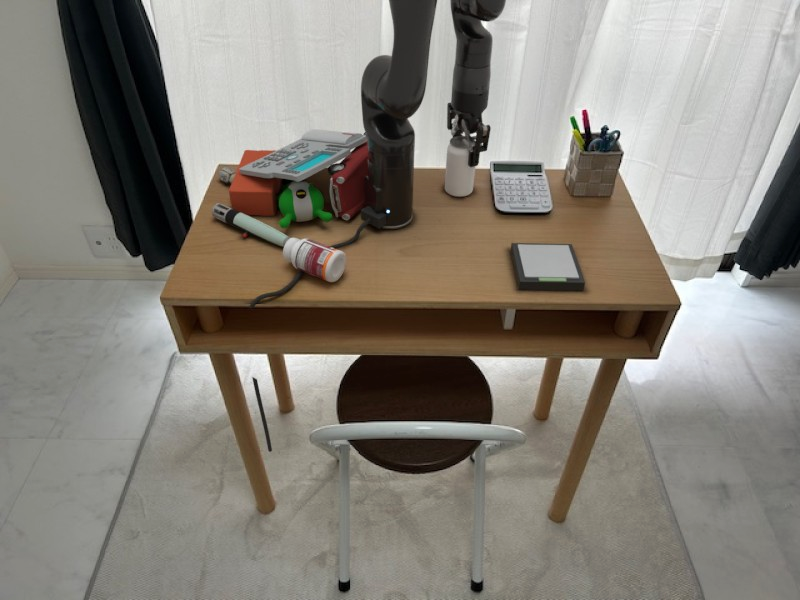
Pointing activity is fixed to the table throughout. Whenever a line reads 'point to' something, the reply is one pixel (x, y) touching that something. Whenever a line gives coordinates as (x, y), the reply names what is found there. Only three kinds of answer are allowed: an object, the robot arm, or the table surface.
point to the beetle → (227, 175)
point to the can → (459, 168)
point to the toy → (301, 203)
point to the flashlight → (249, 225)
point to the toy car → (349, 182)
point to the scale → (546, 267)
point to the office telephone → (305, 155)
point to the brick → (254, 189)
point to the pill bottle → (315, 258)
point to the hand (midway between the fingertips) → (464, 158)
